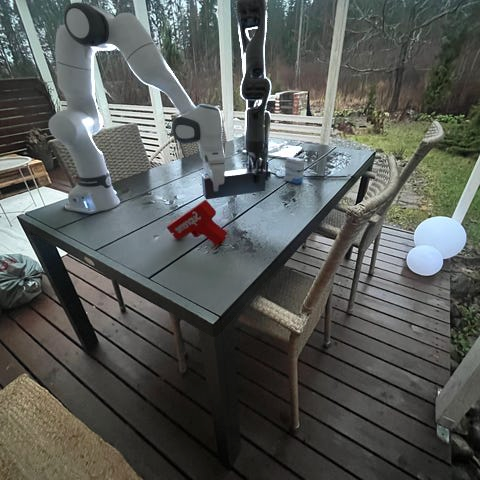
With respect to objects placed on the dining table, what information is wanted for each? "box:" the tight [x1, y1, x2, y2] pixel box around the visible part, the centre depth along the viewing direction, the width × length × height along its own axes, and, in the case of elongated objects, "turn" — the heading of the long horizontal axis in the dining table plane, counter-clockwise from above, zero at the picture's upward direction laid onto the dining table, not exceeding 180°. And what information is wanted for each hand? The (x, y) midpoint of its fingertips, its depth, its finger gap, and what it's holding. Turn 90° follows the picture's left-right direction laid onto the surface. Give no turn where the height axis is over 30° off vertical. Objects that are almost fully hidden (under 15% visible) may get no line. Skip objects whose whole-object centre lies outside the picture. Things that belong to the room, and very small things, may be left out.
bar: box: [201, 168, 267, 201], centre depth 110 cm, size 25×5×9 cm, turn 109°
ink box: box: [284, 156, 306, 185], centre depth 140 cm, size 8×5×12 cm, turn 47°
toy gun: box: [166, 199, 228, 248], centre depth 93 cm, size 18×4×15 cm
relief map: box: [242, 138, 304, 160], centre depth 192 cm, size 27×35×5 cm
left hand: (213, 187), depth 109 cm, fingers closed on bar, 5 cm apart
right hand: (253, 180), depth 113 cm, fingers open, 5 cm apart
